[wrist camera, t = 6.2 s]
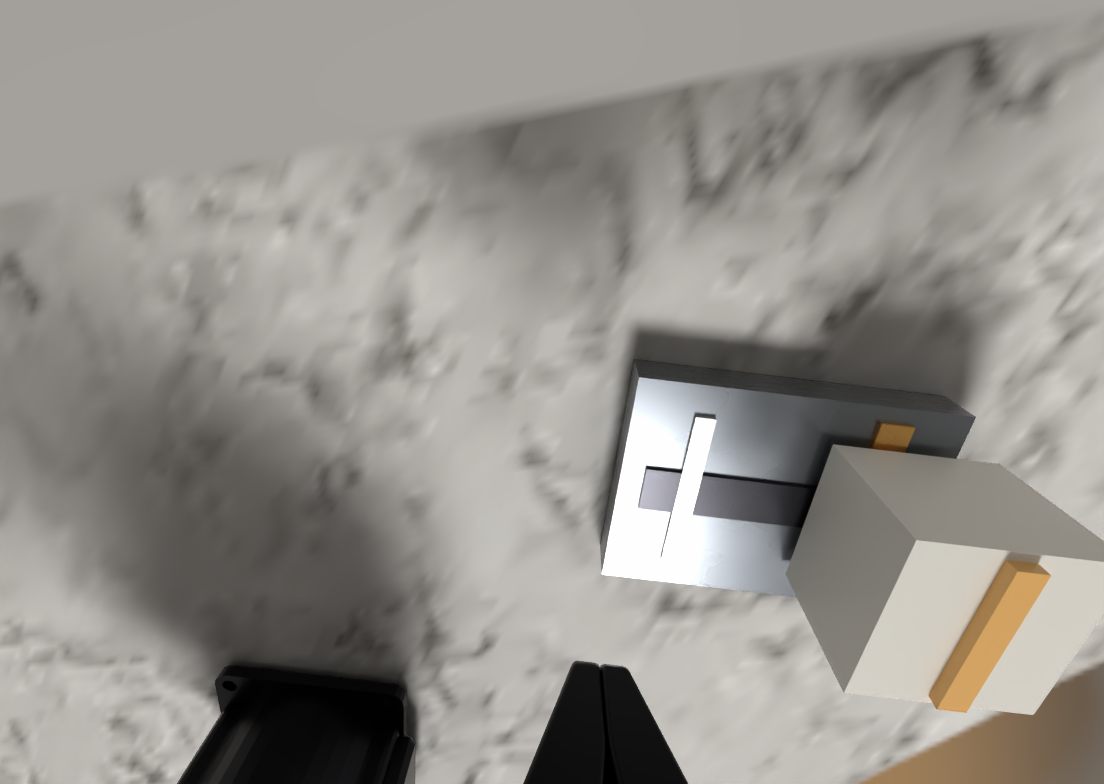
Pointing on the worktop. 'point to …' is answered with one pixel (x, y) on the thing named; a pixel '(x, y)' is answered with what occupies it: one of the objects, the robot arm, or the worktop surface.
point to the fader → (944, 581)
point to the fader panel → (743, 467)
